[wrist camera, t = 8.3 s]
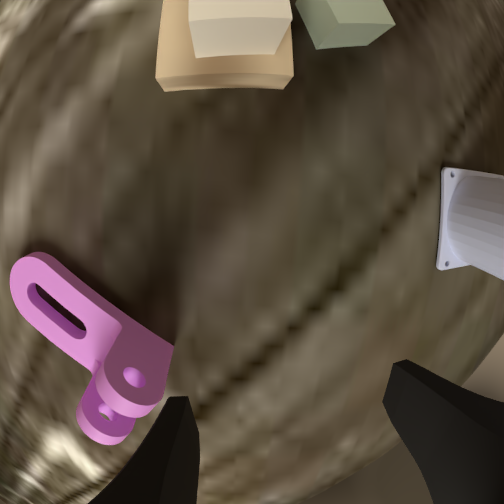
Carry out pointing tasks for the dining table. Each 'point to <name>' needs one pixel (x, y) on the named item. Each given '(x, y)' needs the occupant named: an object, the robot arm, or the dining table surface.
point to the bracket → (95, 346)
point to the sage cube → (344, 21)
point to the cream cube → (237, 26)
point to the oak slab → (214, 59)
